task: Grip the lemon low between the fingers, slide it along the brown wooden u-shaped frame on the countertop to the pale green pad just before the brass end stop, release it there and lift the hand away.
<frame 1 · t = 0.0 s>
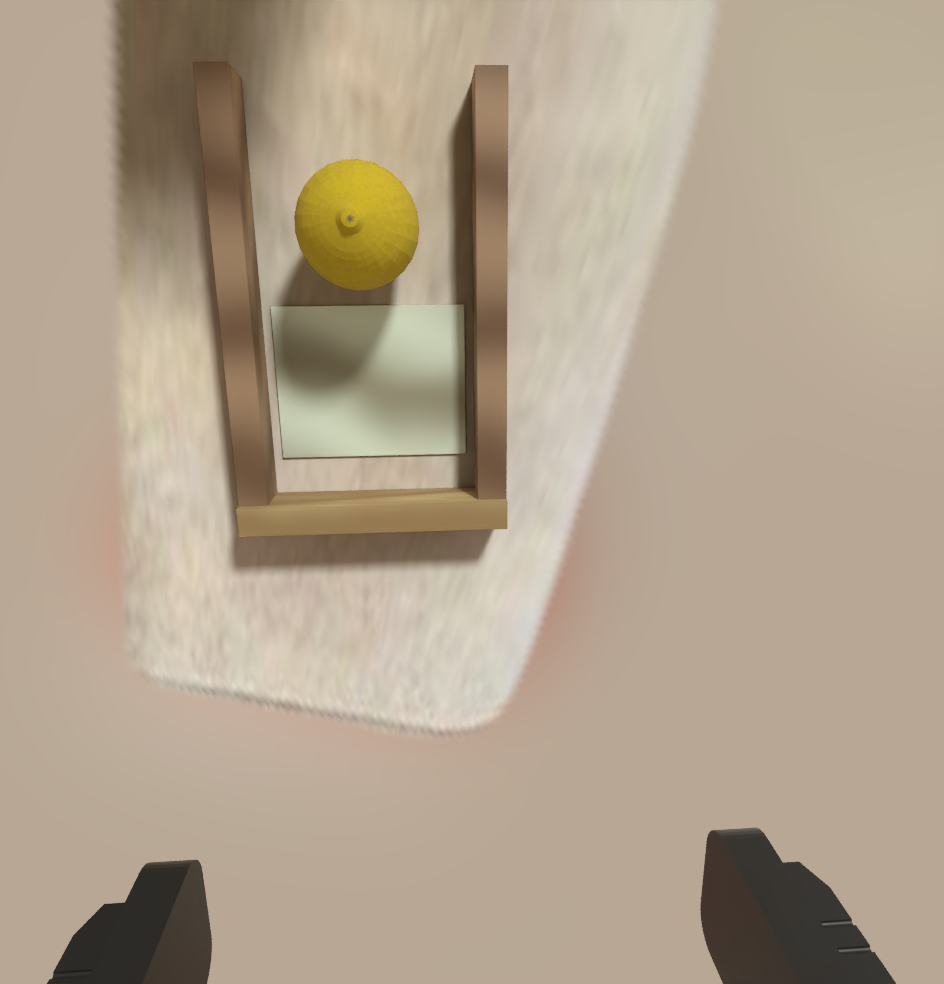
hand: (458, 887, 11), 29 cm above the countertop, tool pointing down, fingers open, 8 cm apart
lemon: (365, 234, 36), resting in brown wooden u-shaped frame
brown wooden u-shaped frame: (368, 315, 37), on the countertop
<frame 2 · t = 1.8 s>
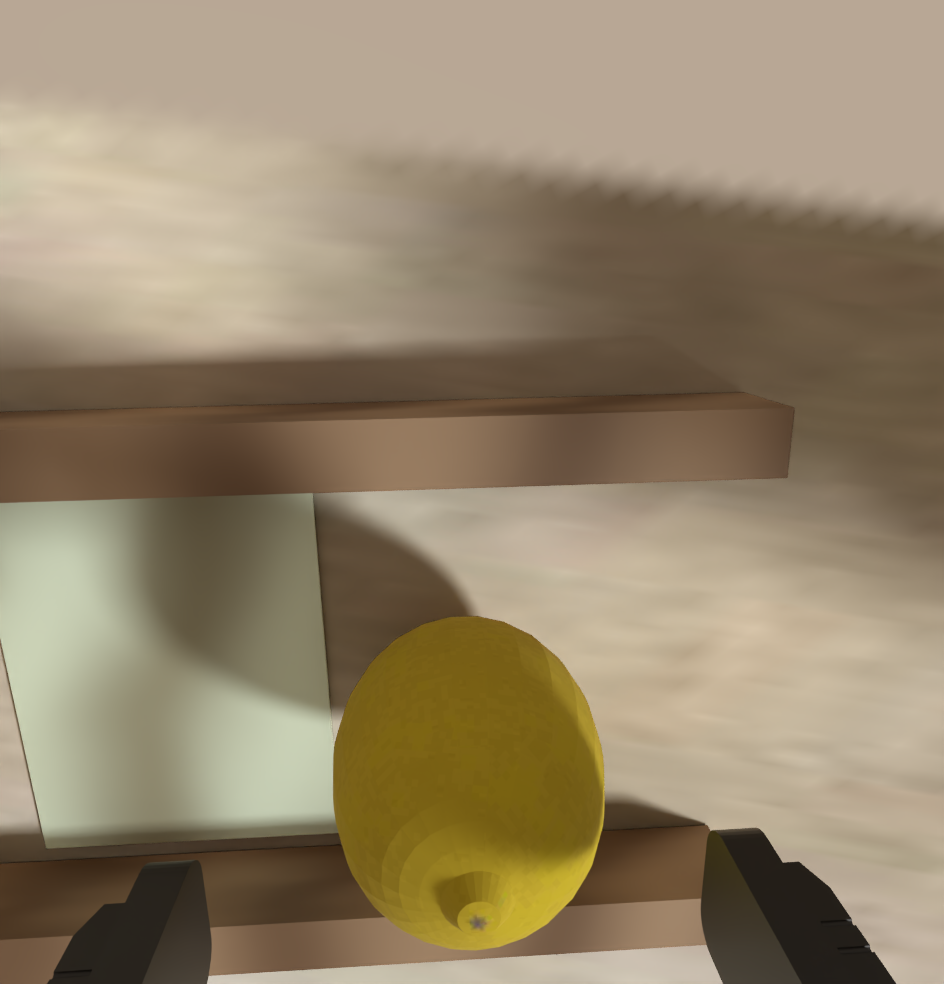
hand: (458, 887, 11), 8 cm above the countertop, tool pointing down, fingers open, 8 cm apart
lemon: (460, 660, 19), resting in brown wooden u-shaped frame
brown wooden u-shaped frame: (308, 671, 18), on the countertop
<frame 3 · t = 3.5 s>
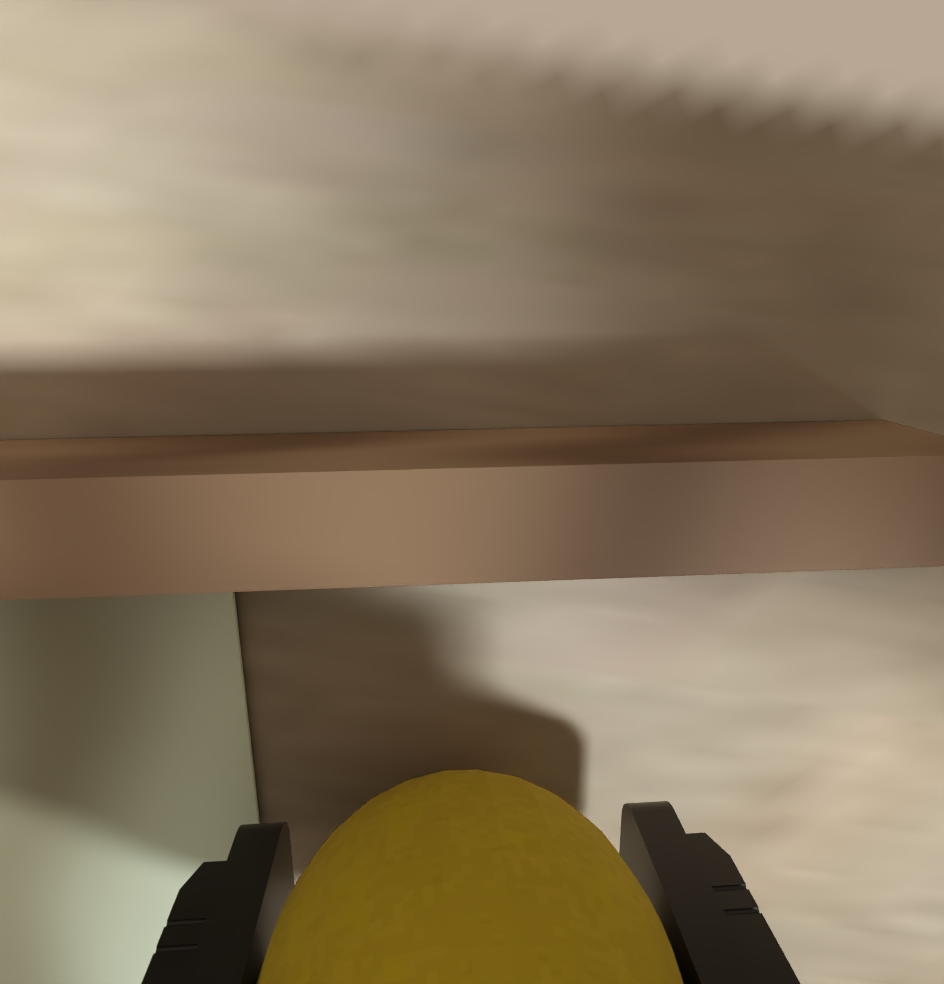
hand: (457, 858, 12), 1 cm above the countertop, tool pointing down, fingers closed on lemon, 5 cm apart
lemon: (454, 802, 13), resting in brown wooden u-shaped frame, touching gripper
brown wooden u-shaped frame: (231, 822, 13), on the countertop
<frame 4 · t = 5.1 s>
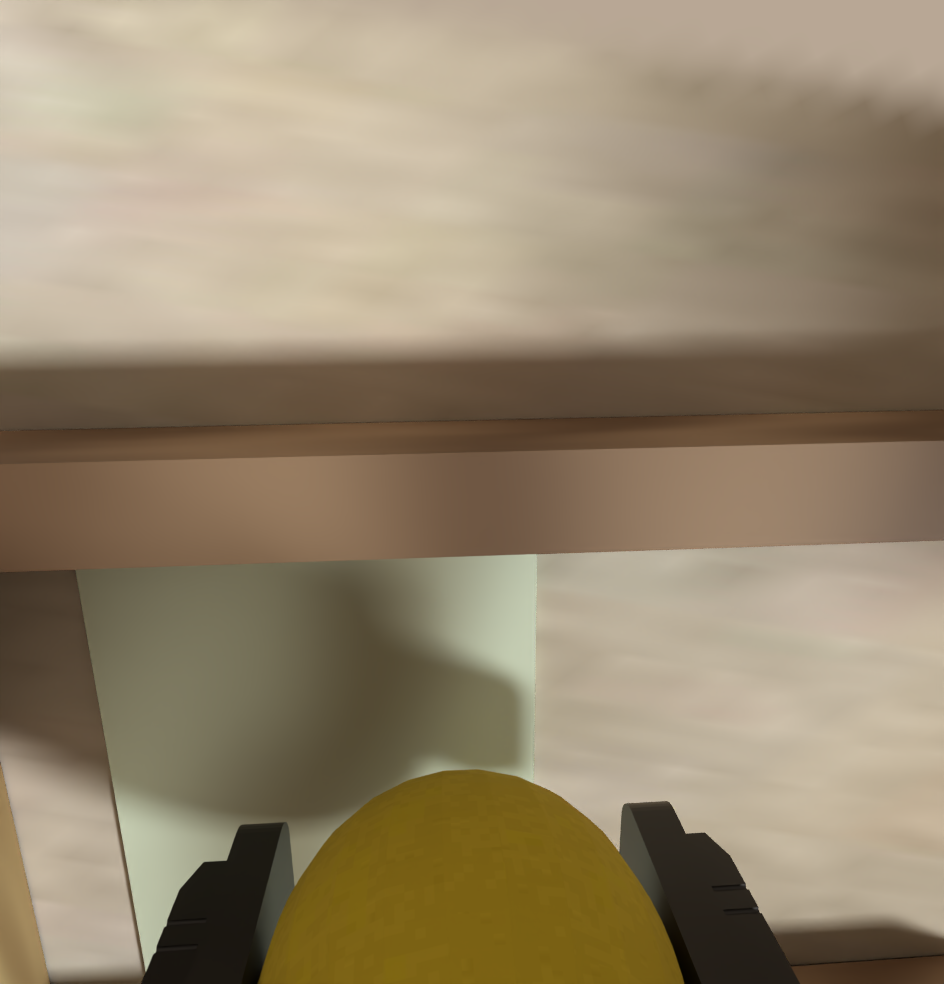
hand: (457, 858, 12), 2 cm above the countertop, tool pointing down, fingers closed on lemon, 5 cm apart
lemon: (455, 802, 13), point 1 cm above the countertop, touching gripper
brown wooden u-shaped frame: (507, 771, 14), on the countertop
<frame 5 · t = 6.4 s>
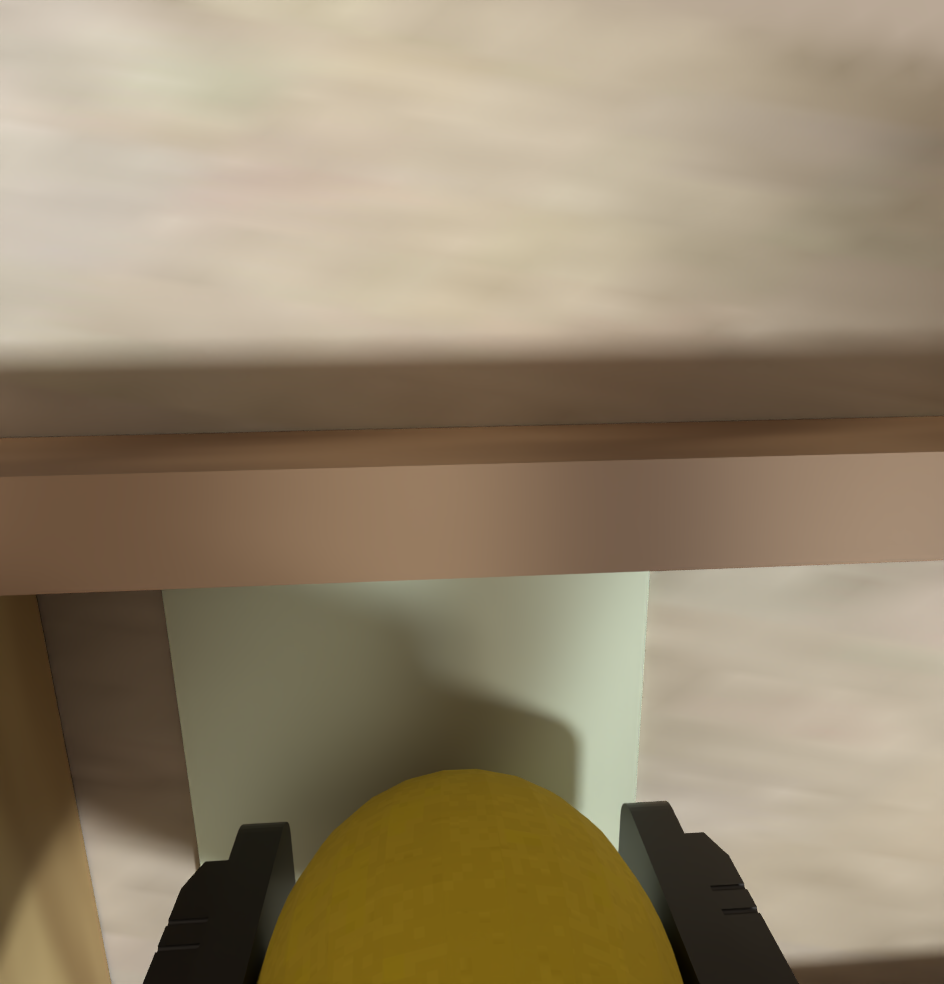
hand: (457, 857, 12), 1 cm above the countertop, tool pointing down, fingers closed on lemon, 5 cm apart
lemon: (454, 801, 13), resting on brown wooden u-shaped frame, touching gripper
brown wooden u-shaped frame: (607, 794, 13), on the countertop
when the fingers open (1 cm above the countertop, at t = 6.8 s): lemon stays where it is, resting on brown wooden u-shaped frame.
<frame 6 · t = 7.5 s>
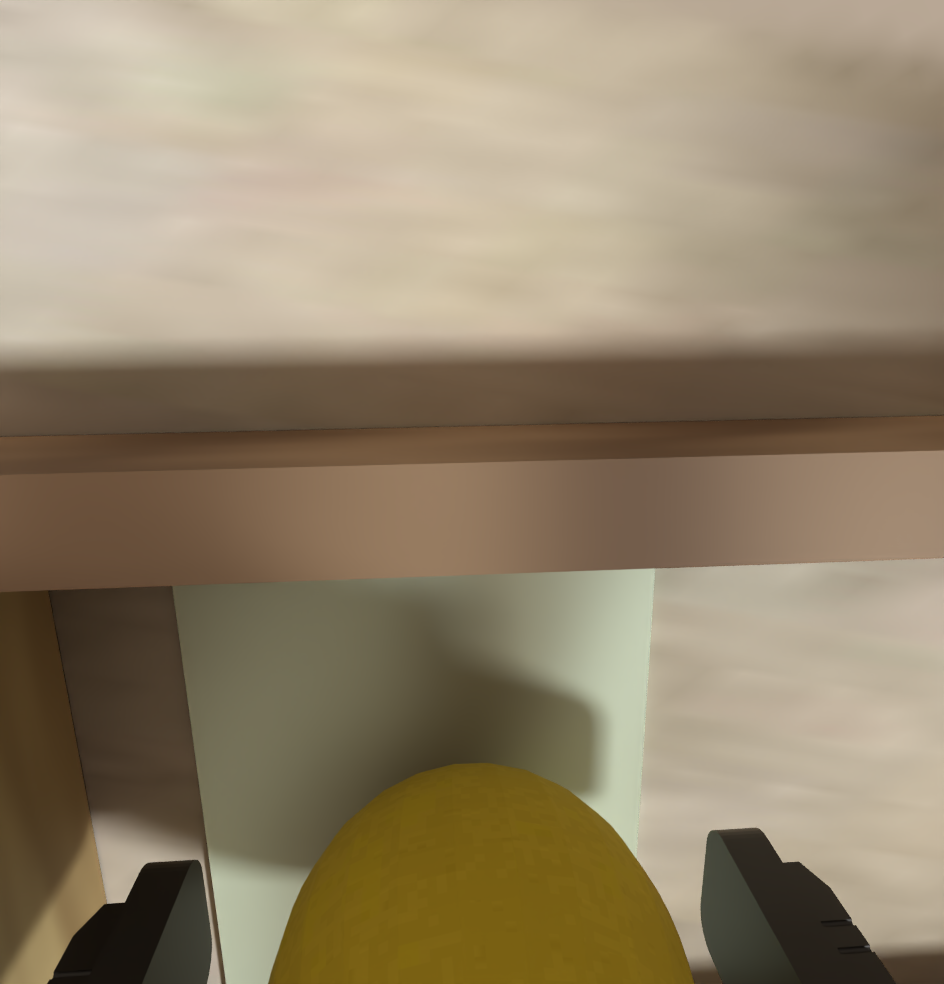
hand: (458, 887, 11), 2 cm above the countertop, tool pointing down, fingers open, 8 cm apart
lemon: (463, 796, 13), resting on brown wooden u-shaped frame
brown wooden u-shaped frame: (612, 791, 13), on the countertop
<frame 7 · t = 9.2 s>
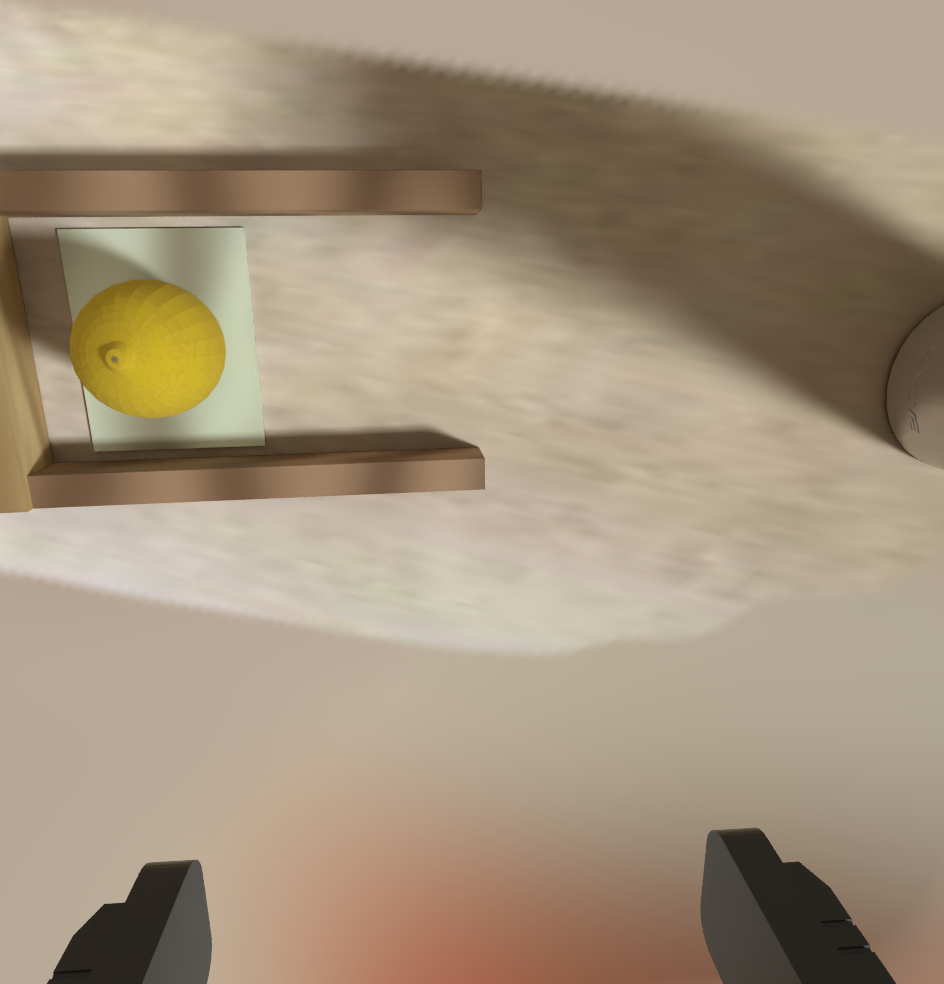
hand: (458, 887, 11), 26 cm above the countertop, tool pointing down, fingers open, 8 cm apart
lemon: (183, 342, 33), resting on brown wooden u-shaped frame
brown wooden u-shaped frame: (244, 341, 33), on the countertop
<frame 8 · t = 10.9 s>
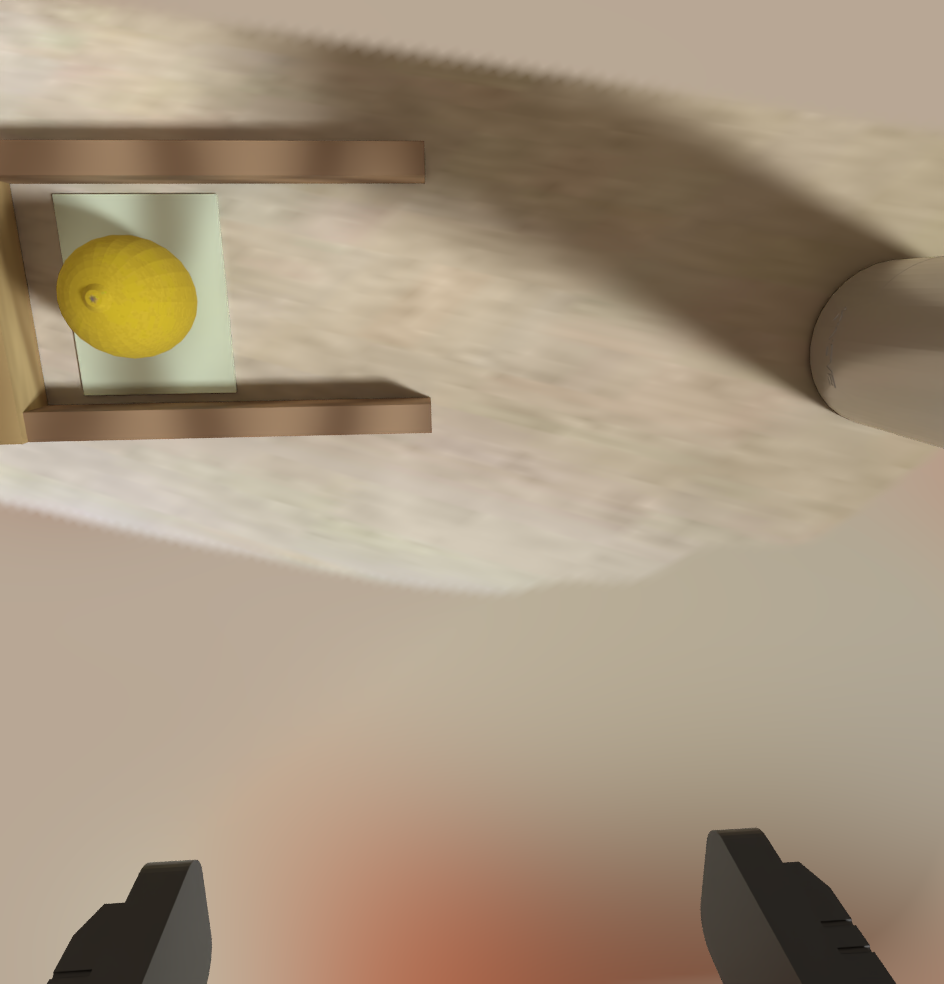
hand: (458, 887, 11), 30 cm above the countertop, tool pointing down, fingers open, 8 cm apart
lemon: (163, 297, 37), resting on brown wooden u-shaped frame
brown wooden u-shaped frame: (217, 296, 37), on the countertop
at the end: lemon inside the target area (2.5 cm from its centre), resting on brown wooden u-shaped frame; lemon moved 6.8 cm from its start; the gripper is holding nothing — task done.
